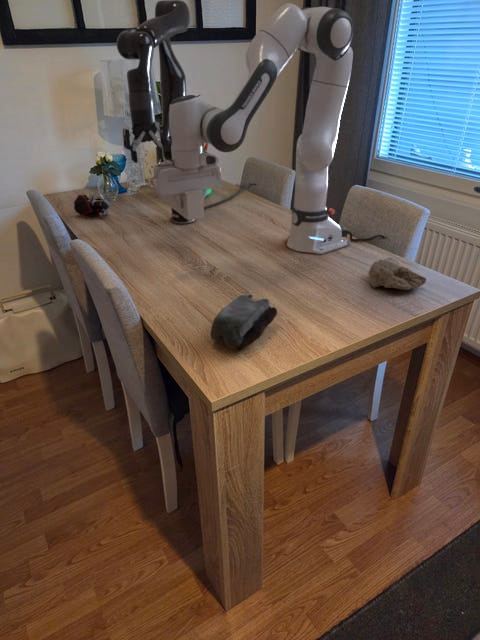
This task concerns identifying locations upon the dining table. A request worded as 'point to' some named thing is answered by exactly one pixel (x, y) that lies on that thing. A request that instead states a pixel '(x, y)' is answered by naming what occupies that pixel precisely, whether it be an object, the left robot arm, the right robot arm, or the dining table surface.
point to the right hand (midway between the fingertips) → (190, 206)
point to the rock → (242, 322)
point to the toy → (90, 206)
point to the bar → (187, 204)
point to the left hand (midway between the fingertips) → (147, 160)
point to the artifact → (393, 275)
